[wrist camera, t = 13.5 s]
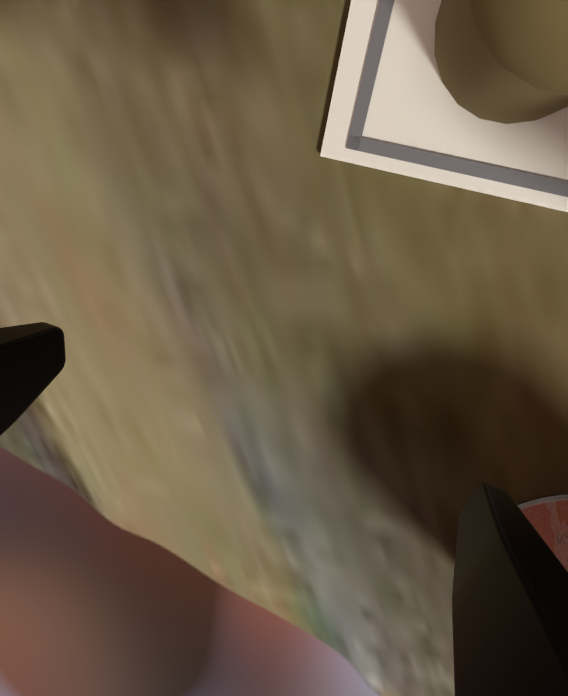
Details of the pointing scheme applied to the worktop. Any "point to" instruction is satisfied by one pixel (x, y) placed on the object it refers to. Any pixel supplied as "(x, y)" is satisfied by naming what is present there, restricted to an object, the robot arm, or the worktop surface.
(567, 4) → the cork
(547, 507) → the canned food
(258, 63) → the worktop surface
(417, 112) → the marked card
